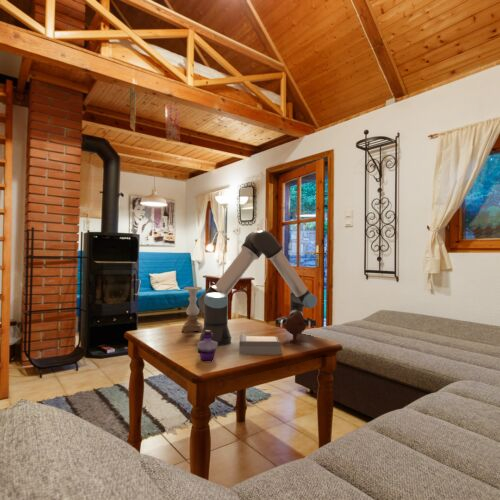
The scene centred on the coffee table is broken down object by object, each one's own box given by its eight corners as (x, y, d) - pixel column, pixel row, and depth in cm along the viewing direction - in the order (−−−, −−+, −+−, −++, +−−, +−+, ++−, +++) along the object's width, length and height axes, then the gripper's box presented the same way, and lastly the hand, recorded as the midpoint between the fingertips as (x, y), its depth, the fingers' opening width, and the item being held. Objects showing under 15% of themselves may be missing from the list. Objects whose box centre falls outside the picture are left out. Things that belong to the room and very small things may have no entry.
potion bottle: (195, 357, 145) (195, 328, 145) (215, 355, 147) (215, 327, 147) (198, 364, 136) (198, 333, 136) (219, 362, 139) (220, 332, 139)
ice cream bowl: (301, 339, 177) (301, 310, 177) (309, 345, 166) (309, 314, 166) (281, 340, 175) (281, 310, 175) (288, 346, 164) (288, 314, 164)
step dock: (239, 354, 150) (239, 341, 150) (239, 343, 168) (239, 332, 168) (280, 354, 150) (281, 341, 150) (276, 343, 168) (277, 332, 168)
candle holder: (183, 328, 200) (184, 286, 200) (202, 327, 201) (203, 286, 202) (181, 332, 189) (182, 288, 190) (201, 332, 191) (202, 288, 191)
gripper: (319, 325, 187) (321, 334, 166) (273, 323, 191) (269, 332, 170) (319, 311, 187) (321, 319, 166) (273, 309, 191) (269, 316, 170)
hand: (295, 325), depth 168 cm, fingers open, 13 cm apart
